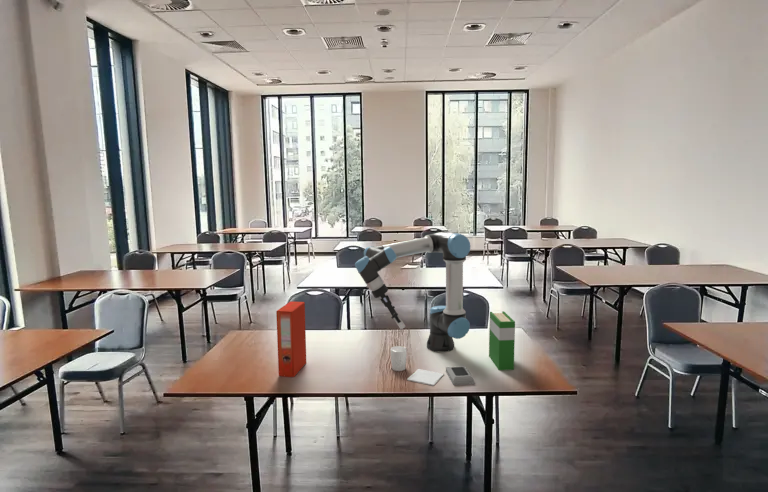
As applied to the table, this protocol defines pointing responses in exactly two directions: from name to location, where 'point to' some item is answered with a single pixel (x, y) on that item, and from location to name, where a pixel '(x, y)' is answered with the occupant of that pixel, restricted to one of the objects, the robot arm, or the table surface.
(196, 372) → the table surface
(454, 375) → the grey box
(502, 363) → the hardback book
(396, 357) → the white cup
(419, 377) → the mat
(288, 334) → the file binder
